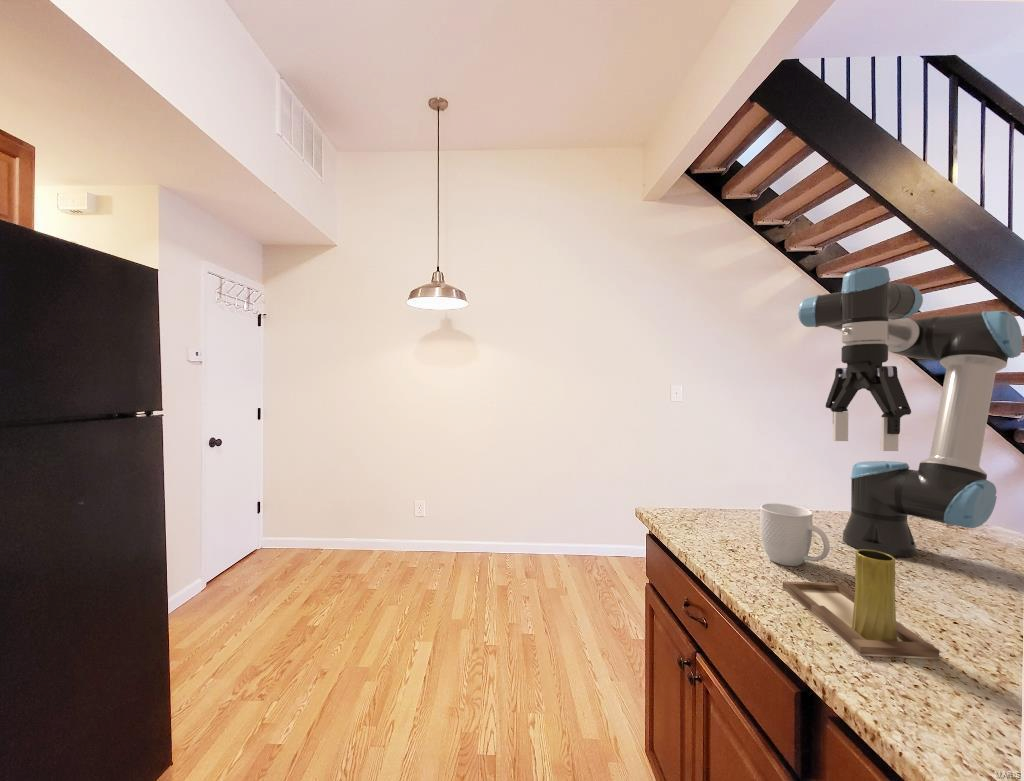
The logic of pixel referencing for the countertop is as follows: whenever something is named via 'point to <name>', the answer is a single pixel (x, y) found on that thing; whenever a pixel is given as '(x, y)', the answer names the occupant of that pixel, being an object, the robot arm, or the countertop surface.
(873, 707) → the countertop surface
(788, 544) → the mug
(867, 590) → the vase
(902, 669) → the countertop surface
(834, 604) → the shallow serving tray
